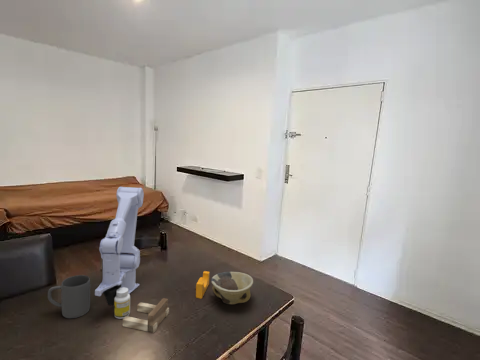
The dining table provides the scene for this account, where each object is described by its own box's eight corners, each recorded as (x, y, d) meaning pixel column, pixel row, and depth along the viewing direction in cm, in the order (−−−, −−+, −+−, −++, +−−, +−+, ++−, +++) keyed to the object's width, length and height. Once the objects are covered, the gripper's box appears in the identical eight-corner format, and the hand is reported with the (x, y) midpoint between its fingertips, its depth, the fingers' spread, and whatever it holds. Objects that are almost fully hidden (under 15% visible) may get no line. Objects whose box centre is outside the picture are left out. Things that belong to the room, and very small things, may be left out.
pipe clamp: (199, 283, 128) (200, 270, 127) (209, 284, 127) (209, 271, 126) (191, 297, 116) (192, 283, 115) (201, 299, 115) (202, 284, 114)
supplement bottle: (117, 310, 104) (117, 285, 103) (131, 310, 104) (132, 286, 103) (111, 319, 98) (112, 293, 97) (127, 319, 99) (127, 294, 98)
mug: (92, 302, 107) (92, 274, 106) (87, 317, 99) (86, 286, 97) (52, 306, 104) (52, 276, 102) (43, 321, 95) (42, 289, 93)
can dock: (122, 326, 95) (122, 310, 95) (140, 308, 106) (140, 293, 105) (154, 332, 93) (154, 316, 92) (168, 313, 104) (169, 299, 103)
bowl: (258, 296, 120) (259, 275, 119) (240, 318, 104) (242, 295, 102) (222, 285, 127) (223, 265, 126) (201, 304, 111) (202, 282, 110)
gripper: (107, 280, 92) (107, 317, 94) (132, 262, 106) (132, 295, 108) (89, 277, 94) (89, 313, 95) (116, 260, 108) (116, 292, 109)
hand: (111, 304), depth 102 cm, fingers closed, pressing on supplement bottle
